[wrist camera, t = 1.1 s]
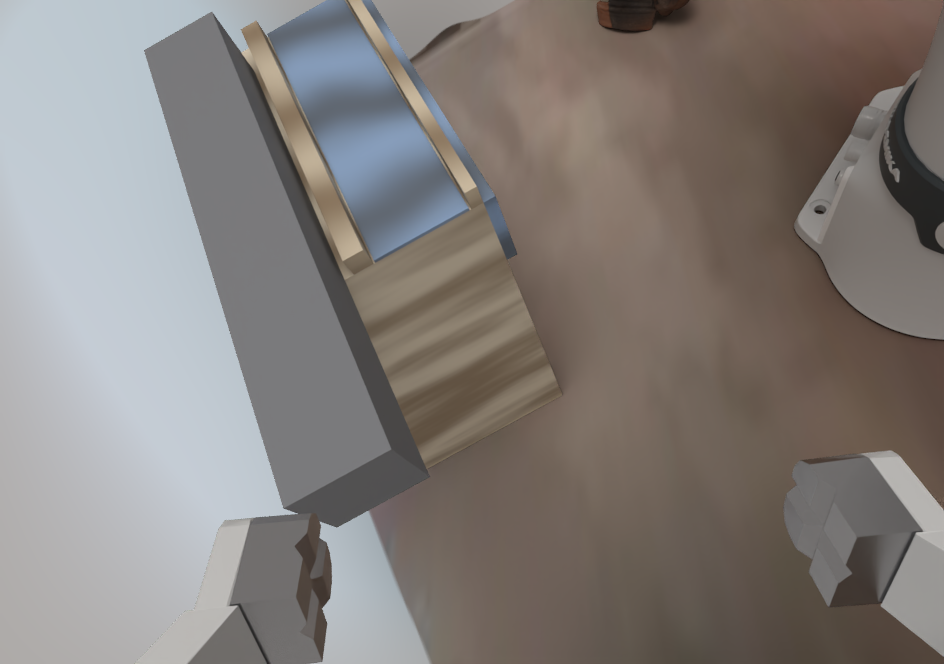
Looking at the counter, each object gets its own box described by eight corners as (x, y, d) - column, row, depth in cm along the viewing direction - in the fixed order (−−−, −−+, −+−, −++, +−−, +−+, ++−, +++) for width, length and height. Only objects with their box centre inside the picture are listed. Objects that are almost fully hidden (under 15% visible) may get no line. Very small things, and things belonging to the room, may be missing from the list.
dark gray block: (192, 105, 38) (144, 50, 34) (254, 70, 38) (211, 11, 34) (336, 527, 25) (283, 508, 22) (430, 476, 25) (391, 449, 21)
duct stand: (569, 391, 52) (489, 179, 29) (426, 469, 53) (230, 323, 29) (474, 230, 61) (352, -35, 37) (352, 298, 61) (154, 78, 38)
